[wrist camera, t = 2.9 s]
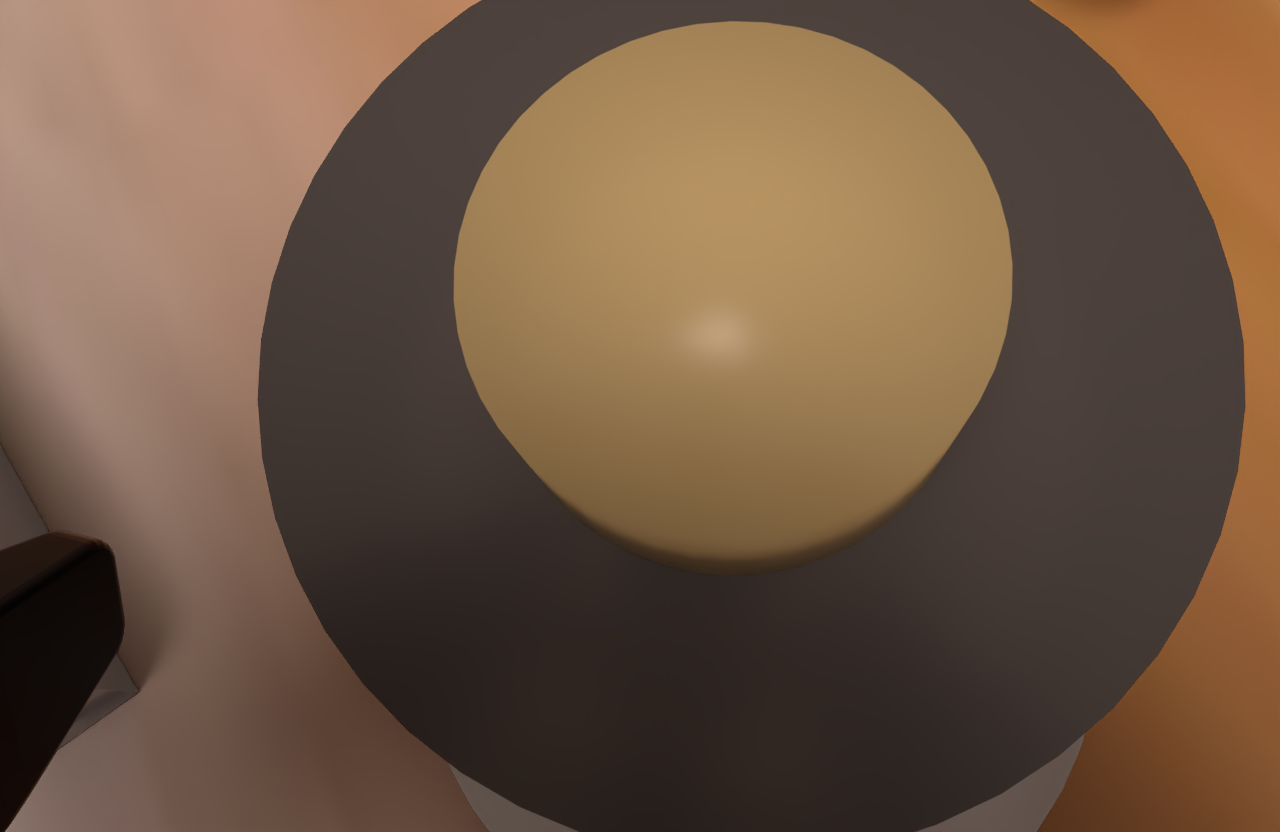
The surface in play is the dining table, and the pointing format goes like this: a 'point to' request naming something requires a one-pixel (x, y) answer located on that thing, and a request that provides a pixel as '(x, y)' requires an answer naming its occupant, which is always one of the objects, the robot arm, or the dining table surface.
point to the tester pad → (988, 828)
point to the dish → (12, 518)
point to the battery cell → (751, 404)
